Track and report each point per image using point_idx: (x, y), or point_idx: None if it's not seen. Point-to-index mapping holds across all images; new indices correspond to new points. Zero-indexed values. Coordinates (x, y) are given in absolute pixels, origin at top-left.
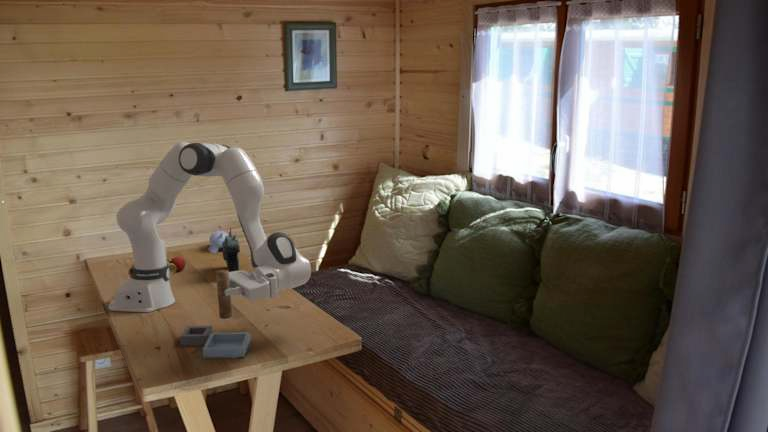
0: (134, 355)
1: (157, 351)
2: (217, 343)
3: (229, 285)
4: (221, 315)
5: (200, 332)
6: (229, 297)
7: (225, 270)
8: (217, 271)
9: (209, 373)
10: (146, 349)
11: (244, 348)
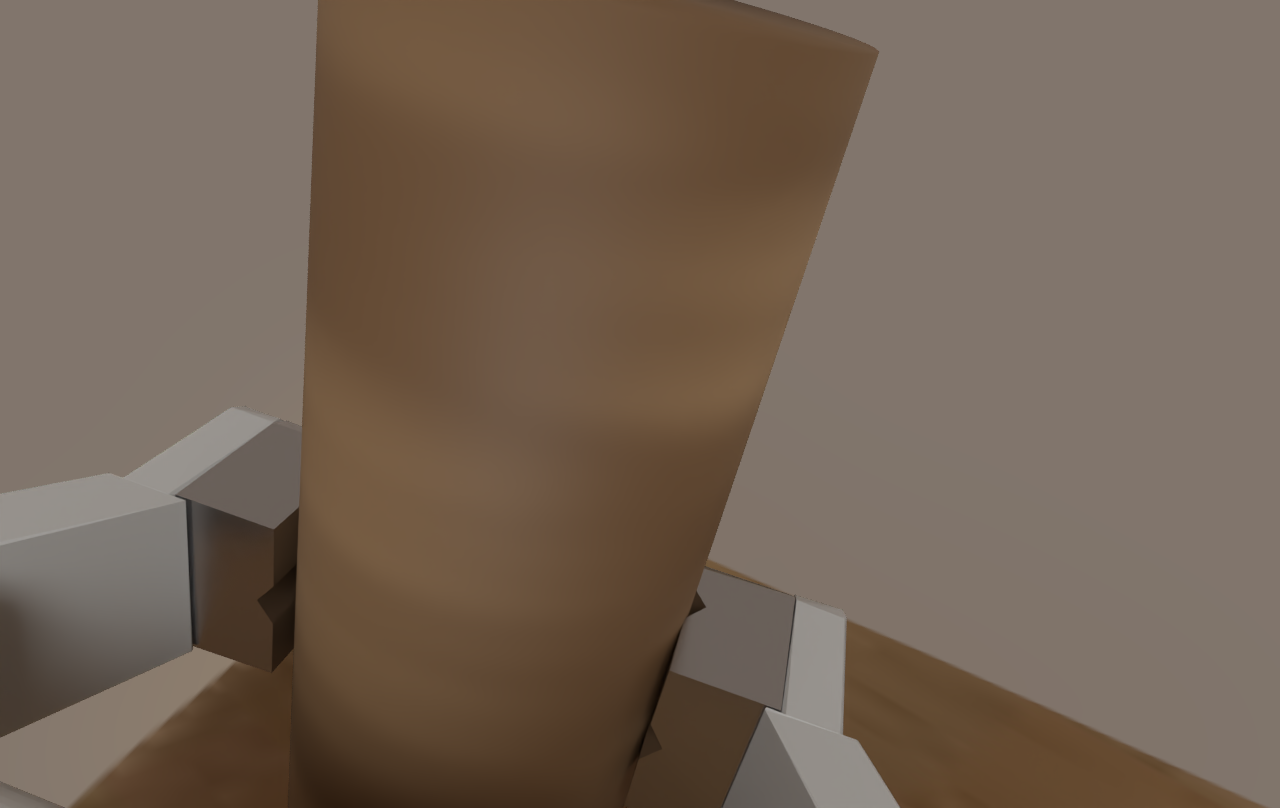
0: (945, 682)
1: (918, 795)
2: None
3: (332, 585)
4: None
5: None
6: (291, 785)
7: (649, 6)
8: (811, 27)
9: (223, 704)
10: (1006, 780)
11: None
